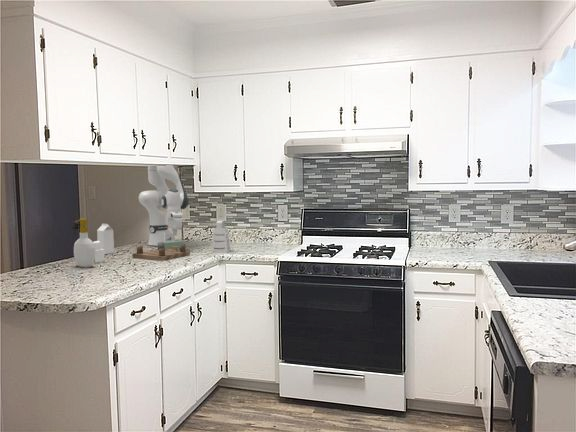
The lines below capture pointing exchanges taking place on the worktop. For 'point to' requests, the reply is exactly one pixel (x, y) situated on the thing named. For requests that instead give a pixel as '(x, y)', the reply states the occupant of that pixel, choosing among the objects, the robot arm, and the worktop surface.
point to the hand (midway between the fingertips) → (174, 235)
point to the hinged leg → (170, 244)
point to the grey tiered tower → (220, 238)
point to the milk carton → (106, 238)
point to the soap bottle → (84, 247)
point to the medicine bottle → (98, 252)
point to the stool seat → (161, 253)
